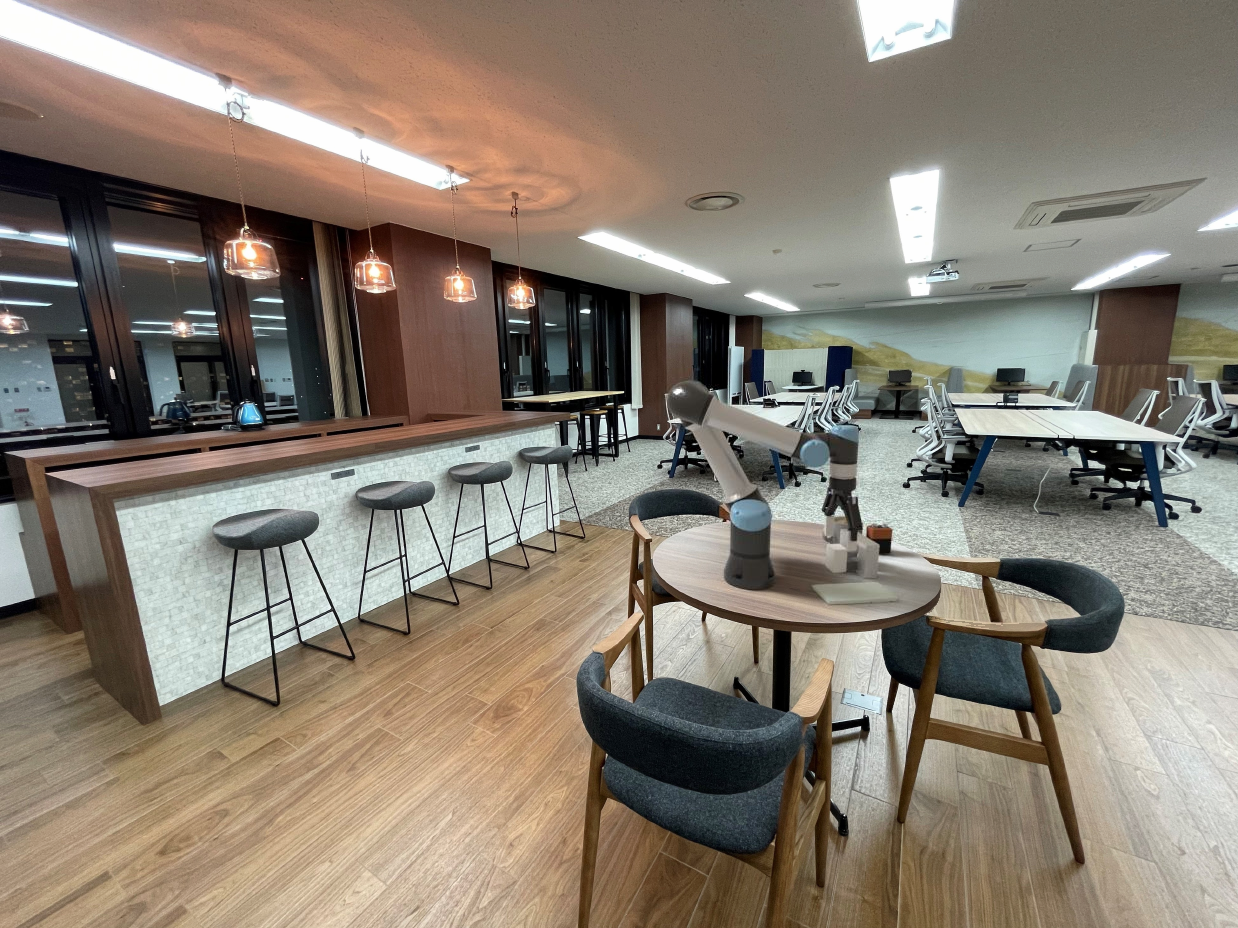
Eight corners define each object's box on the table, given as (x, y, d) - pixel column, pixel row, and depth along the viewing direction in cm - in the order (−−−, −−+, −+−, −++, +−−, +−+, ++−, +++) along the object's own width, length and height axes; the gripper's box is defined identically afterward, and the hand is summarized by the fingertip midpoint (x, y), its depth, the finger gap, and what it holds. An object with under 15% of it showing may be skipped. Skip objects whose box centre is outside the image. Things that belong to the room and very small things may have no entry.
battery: (864, 550, 164) (866, 522, 162) (884, 549, 164) (886, 522, 162) (870, 554, 159) (873, 526, 158) (891, 554, 159) (893, 526, 157)
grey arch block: (863, 578, 142) (866, 545, 140) (838, 559, 156) (840, 529, 154) (876, 577, 142) (879, 544, 140) (850, 558, 157) (852, 528, 155)
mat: (828, 604, 127) (829, 601, 127) (812, 587, 137) (812, 584, 136) (897, 601, 128) (897, 597, 127) (875, 584, 137) (876, 581, 137)
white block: (833, 572, 146) (834, 549, 145) (825, 566, 151) (826, 544, 150) (875, 570, 147) (877, 548, 146) (866, 564, 152) (868, 542, 150)
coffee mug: (855, 542, 171) (857, 516, 169) (865, 552, 161) (867, 525, 159) (816, 541, 173) (818, 515, 171) (824, 551, 163) (826, 524, 161)
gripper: (879, 485, 131) (874, 556, 135) (834, 467, 156) (831, 529, 159) (852, 486, 131) (849, 558, 135) (812, 469, 155) (810, 530, 159)
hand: (839, 542), depth 147 cm, fingers open, 13 cm apart
